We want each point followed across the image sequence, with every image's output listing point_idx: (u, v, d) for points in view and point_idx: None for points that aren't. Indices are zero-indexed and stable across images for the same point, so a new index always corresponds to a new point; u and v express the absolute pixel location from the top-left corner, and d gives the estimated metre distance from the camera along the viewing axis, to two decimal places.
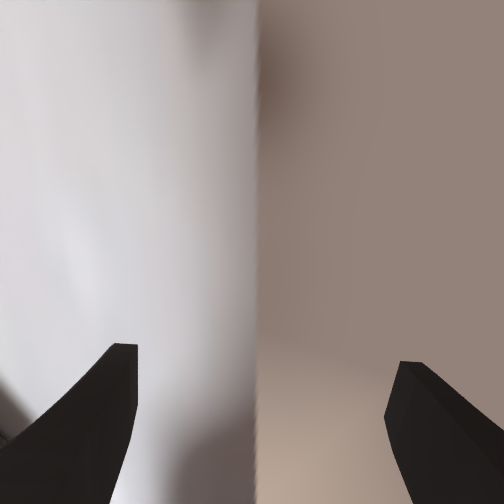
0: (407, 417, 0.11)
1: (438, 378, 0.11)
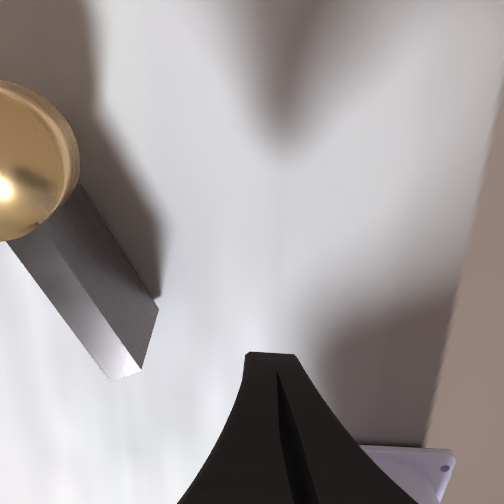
0: None
1: (299, 370, 0.11)
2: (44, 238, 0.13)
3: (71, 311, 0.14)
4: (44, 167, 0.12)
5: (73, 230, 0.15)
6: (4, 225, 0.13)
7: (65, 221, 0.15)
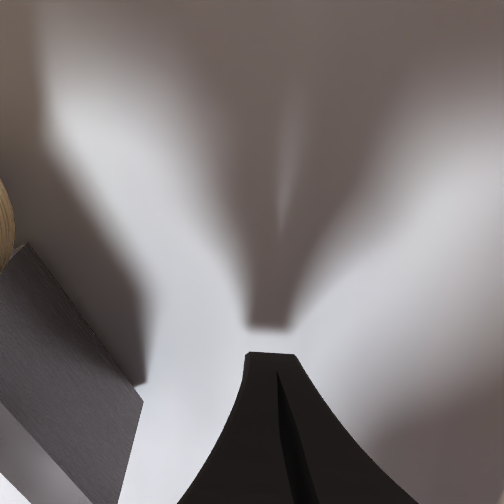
0: None
1: (299, 370, 0.11)
2: None
3: (2, 452, 0.09)
4: None
5: (7, 322, 0.10)
6: None
7: None
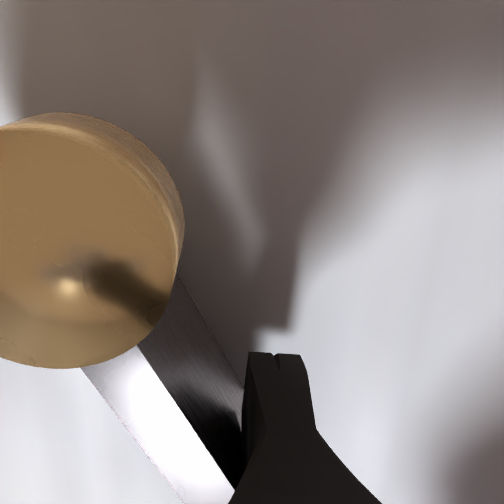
0: (247, 409, 0.11)
1: (274, 368, 0.11)
2: (141, 363, 0.08)
3: (170, 458, 0.10)
4: (153, 261, 0.08)
5: (168, 331, 0.10)
6: (80, 345, 0.08)
7: (159, 321, 0.10)
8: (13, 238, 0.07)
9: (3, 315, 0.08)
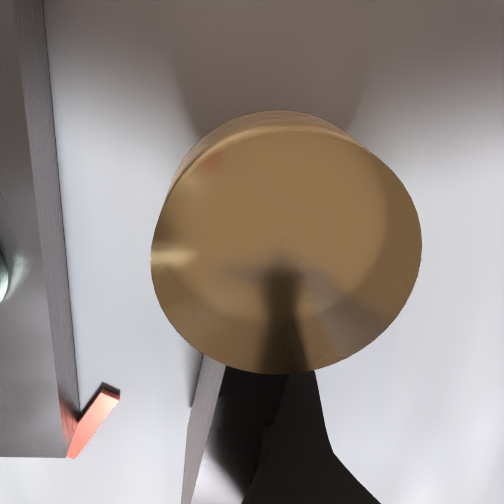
0: None
1: None
2: (278, 390, 0.08)
3: (217, 476, 0.09)
4: (370, 321, 0.08)
5: None
6: (245, 348, 0.08)
7: None
8: (287, 235, 0.07)
9: (210, 287, 0.07)
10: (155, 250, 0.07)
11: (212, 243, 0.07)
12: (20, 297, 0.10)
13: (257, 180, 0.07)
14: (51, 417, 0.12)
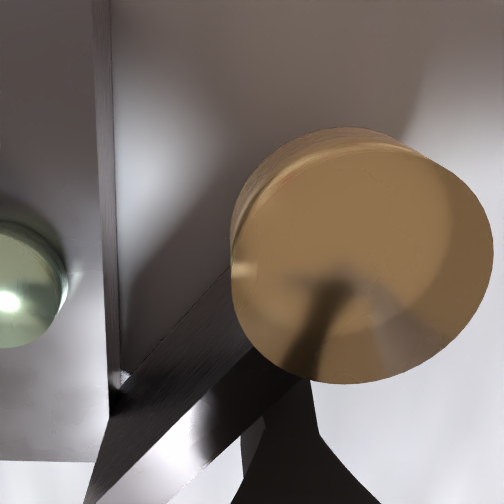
0: None
1: None
2: (283, 388, 0.08)
3: (175, 448, 0.09)
4: (397, 359, 0.08)
5: None
6: (280, 338, 0.08)
7: None
8: (381, 252, 0.07)
9: (288, 267, 0.07)
10: (263, 210, 0.07)
11: (316, 228, 0.07)
12: (78, 305, 0.11)
13: (389, 192, 0.07)
14: (100, 423, 0.12)
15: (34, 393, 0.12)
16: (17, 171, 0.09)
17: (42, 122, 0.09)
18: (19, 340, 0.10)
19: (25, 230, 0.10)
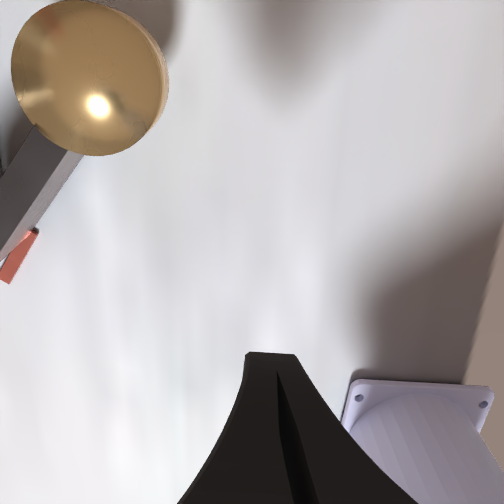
0: None
1: (299, 370, 0.11)
2: (58, 157, 0.14)
3: (2, 201, 0.15)
4: (121, 138, 0.14)
5: (70, 159, 0.16)
6: (48, 120, 0.14)
7: (74, 151, 0.16)
8: (92, 63, 0.13)
9: (42, 71, 0.13)
10: (20, 35, 0.13)
11: (51, 47, 0.13)
12: None
13: (86, 25, 0.13)
14: None
15: None
16: None
17: None
18: None
19: None
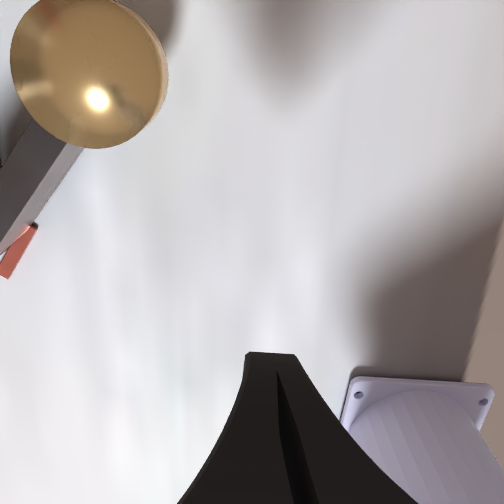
0: None
1: (300, 370, 0.11)
2: (57, 150, 0.14)
3: (0, 194, 0.15)
4: (120, 131, 0.14)
5: (69, 153, 0.16)
6: (47, 112, 0.14)
7: (74, 145, 0.16)
8: (92, 55, 0.13)
9: (41, 63, 0.13)
10: (19, 26, 0.13)
11: (51, 38, 0.13)
12: None
13: (86, 16, 0.13)
14: None
15: None
16: None
17: None
18: None
19: None
